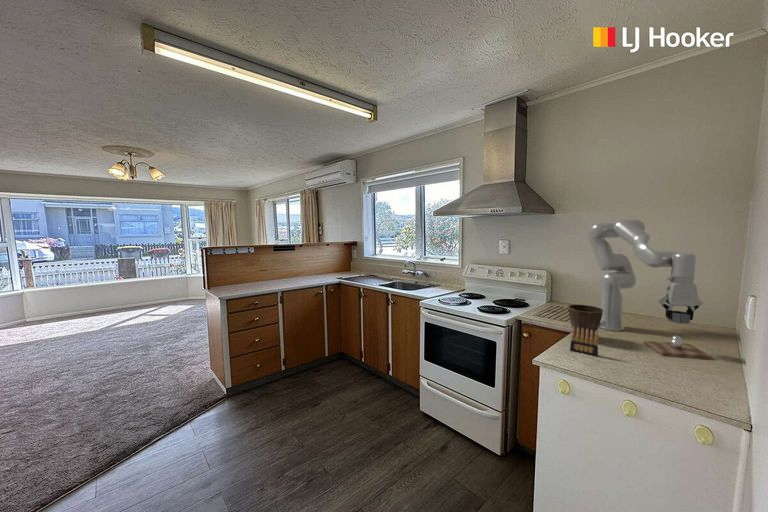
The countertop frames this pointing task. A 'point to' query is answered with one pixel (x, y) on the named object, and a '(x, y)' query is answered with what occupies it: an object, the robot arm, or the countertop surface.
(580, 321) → the plant pot
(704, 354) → the base plate
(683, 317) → the steel ring
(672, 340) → the silver egg
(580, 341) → the ammunition clip
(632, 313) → the countertop surface
